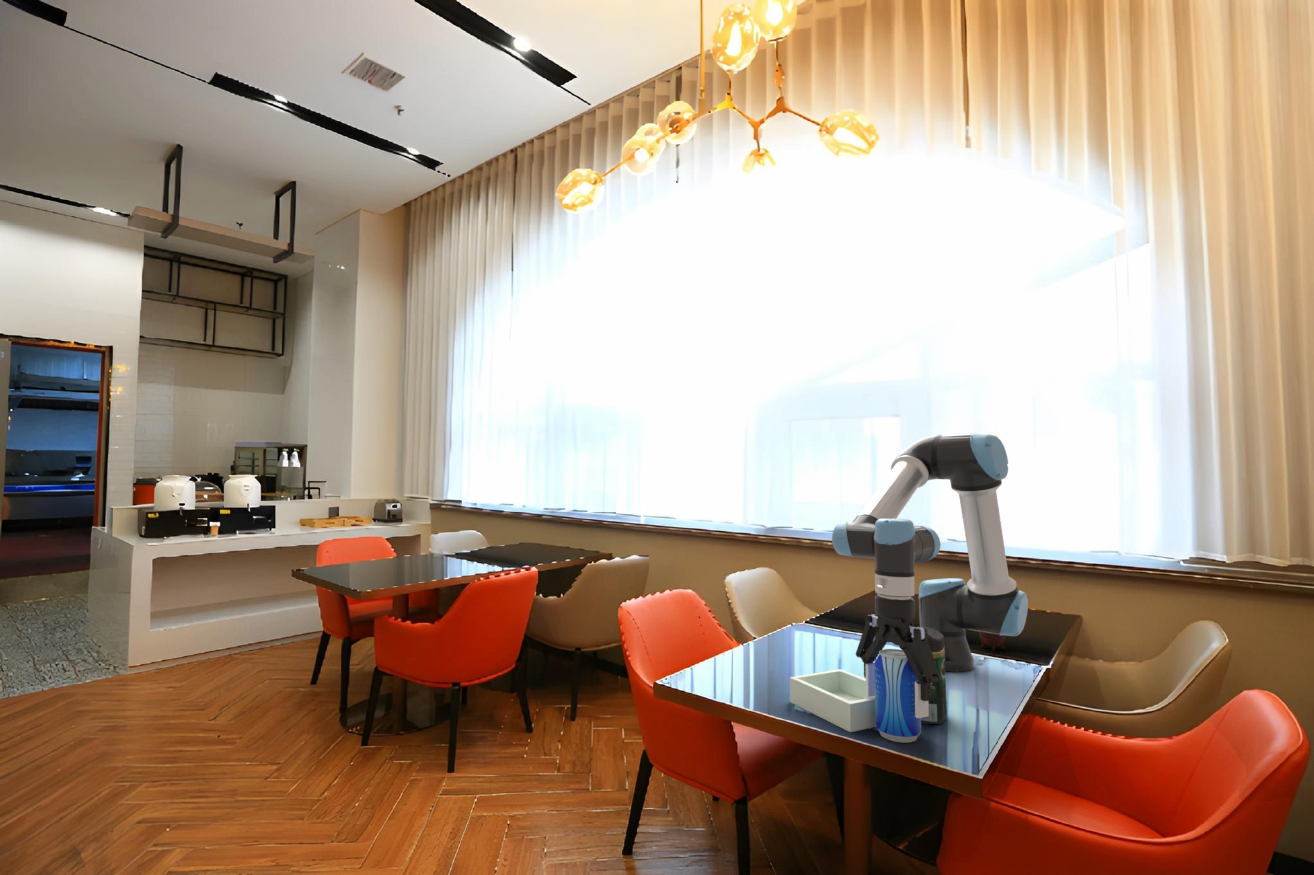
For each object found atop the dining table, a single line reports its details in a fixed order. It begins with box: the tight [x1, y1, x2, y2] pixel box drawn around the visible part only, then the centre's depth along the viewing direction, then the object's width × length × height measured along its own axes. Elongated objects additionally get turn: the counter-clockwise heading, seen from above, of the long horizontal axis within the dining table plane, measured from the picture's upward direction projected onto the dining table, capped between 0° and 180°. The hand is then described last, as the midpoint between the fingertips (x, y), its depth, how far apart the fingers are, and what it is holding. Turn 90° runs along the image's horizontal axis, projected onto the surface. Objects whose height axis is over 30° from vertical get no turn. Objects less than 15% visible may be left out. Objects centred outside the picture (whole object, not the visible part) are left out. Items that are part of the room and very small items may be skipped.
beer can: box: [874, 648, 922, 744], centre depth 126 cm, size 8×8×16 cm
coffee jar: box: [907, 626, 948, 725], centre depth 135 cm, size 10×8×19 cm
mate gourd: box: [978, 631, 1006, 652], centre depth 192 cm, size 8×8×15 cm
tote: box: [789, 668, 876, 733], centre depth 139 cm, size 15×19×6 cm
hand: (895, 705), depth 126 cm, fingers open, 12 cm apart
